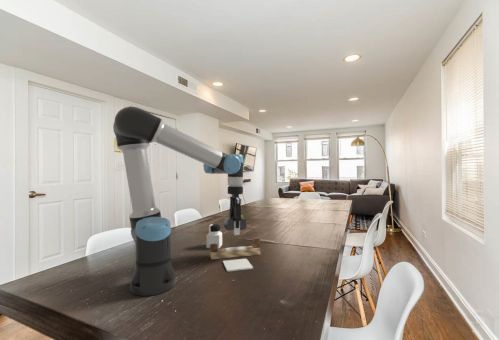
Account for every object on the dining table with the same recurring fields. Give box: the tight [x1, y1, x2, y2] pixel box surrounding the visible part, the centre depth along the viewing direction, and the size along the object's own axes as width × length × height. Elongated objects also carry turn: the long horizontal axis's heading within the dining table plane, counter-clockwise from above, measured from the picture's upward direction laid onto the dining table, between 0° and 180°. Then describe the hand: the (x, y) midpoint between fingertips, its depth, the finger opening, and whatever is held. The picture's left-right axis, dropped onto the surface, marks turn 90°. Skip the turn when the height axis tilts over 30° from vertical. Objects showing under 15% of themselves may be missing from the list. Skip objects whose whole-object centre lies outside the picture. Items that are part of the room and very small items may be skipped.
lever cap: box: [223, 214, 247, 231], centre depth 118 cm, size 9×8×6 cm
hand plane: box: [209, 237, 261, 260], centre depth 118 cm, size 24×5×8 cm, turn 106°
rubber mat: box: [222, 258, 254, 273], centre depth 105 cm, size 11×11×1 cm
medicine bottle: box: [206, 223, 223, 249], centre depth 132 cm, size 7×7×12 cm
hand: (234, 232), depth 118 cm, fingers closed on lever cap, 8 cm apart
